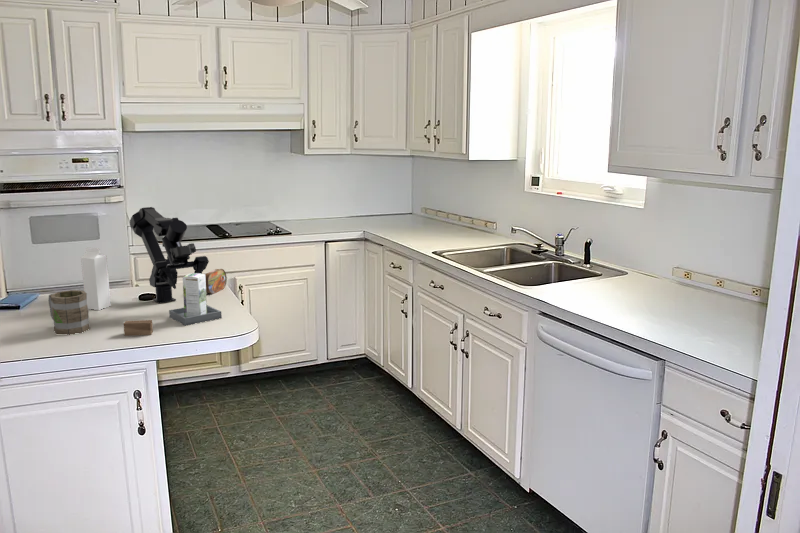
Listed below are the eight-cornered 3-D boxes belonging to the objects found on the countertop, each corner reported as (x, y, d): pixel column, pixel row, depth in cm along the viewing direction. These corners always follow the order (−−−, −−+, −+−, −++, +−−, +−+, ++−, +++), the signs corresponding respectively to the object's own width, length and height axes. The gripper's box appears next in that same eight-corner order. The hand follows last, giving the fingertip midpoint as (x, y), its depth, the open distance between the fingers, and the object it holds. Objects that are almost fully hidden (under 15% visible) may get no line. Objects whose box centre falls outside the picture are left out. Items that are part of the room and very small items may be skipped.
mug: (97, 328, 220) (94, 292, 218) (67, 337, 211) (63, 300, 209) (67, 321, 228) (64, 286, 226) (37, 329, 219) (33, 293, 217)
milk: (98, 310, 241) (93, 250, 236) (85, 309, 243) (79, 248, 238) (111, 306, 247) (106, 247, 242) (98, 304, 249) (92, 245, 244)
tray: (169, 317, 233) (168, 310, 233) (204, 310, 241) (204, 303, 241) (185, 325, 224) (184, 318, 223) (221, 318, 232) (221, 311, 231)
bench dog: (126, 332, 216) (125, 320, 215) (153, 331, 217) (152, 319, 216) (124, 335, 213) (123, 323, 212) (150, 334, 214) (150, 322, 213)
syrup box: (191, 313, 235) (189, 272, 232) (207, 314, 234) (205, 273, 231) (184, 318, 229) (181, 276, 226) (200, 318, 228) (198, 277, 225)
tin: (209, 296, 262) (208, 274, 260) (202, 295, 262) (200, 274, 261) (227, 287, 276) (226, 266, 274) (220, 286, 277) (219, 266, 275)
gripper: (152, 239, 228) (166, 277, 222) (205, 233, 240) (220, 269, 234) (146, 257, 236) (159, 295, 230) (197, 251, 248) (211, 286, 242)
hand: (188, 286), depth 234 cm, fingers open, 9 cm apart
